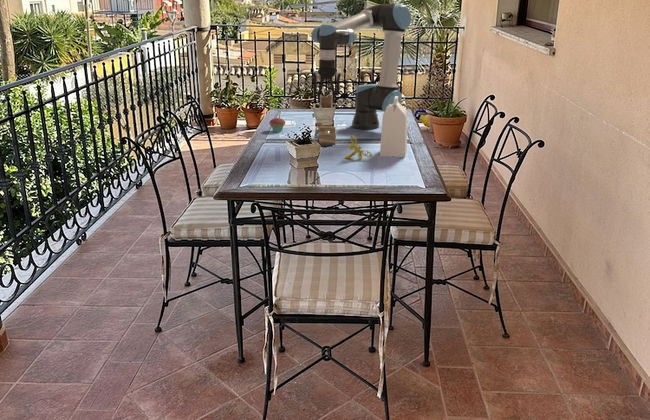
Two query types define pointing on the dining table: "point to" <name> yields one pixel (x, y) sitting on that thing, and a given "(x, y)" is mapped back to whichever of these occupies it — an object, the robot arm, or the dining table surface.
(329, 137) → the birch cradle
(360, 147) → the decorative insect
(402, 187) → the dining table surface
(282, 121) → the cupcake
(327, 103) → the walnut bar
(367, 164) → the dining table surface
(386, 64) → the robot arm
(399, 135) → the milk
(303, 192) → the dining table surface
